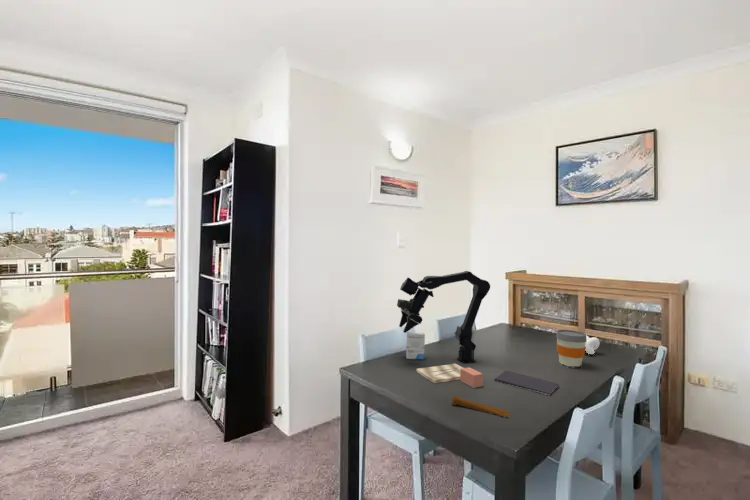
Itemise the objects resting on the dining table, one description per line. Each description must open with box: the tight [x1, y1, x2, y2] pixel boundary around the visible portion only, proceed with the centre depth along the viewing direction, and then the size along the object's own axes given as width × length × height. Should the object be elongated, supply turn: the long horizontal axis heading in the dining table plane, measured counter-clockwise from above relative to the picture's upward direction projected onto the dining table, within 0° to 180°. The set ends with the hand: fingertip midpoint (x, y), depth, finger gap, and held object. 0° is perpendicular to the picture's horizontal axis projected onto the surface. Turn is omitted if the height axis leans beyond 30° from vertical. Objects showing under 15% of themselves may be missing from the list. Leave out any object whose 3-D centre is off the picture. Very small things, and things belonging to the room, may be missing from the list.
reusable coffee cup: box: [555, 329, 587, 366], centre depth 173 cm, size 13×13×15 cm
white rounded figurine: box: [585, 334, 601, 355], centre depth 192 cm, size 11×12×9 cm
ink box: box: [405, 331, 426, 360], centre depth 179 cm, size 9×5×12 cm, turn 84°
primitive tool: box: [451, 395, 510, 417], centre depth 125 cm, size 19×6×4 cm, turn 69°
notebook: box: [494, 370, 560, 394], centre depth 149 cm, size 13×2×21 cm
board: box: [416, 363, 464, 384], centre depth 157 cm, size 20×14×1 cm
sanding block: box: [459, 366, 484, 389], centre depth 148 cm, size 4×8×5 cm, turn 25°
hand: (402, 329), depth 174 cm, fingers open, 9 cm apart
